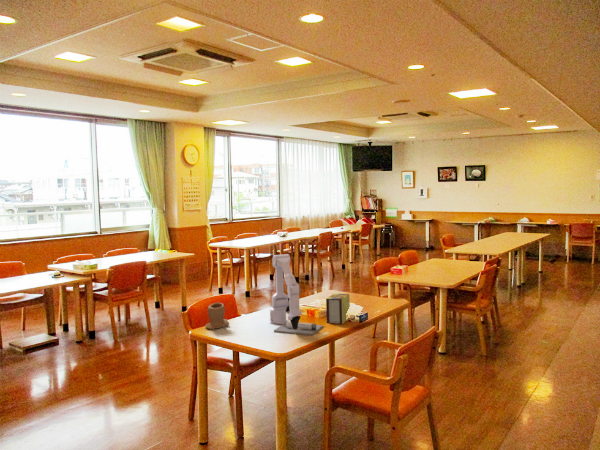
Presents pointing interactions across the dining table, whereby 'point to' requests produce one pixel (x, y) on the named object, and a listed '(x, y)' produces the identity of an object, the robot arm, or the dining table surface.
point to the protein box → (337, 308)
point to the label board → (297, 330)
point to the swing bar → (302, 325)
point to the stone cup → (216, 316)
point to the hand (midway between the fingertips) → (295, 329)
